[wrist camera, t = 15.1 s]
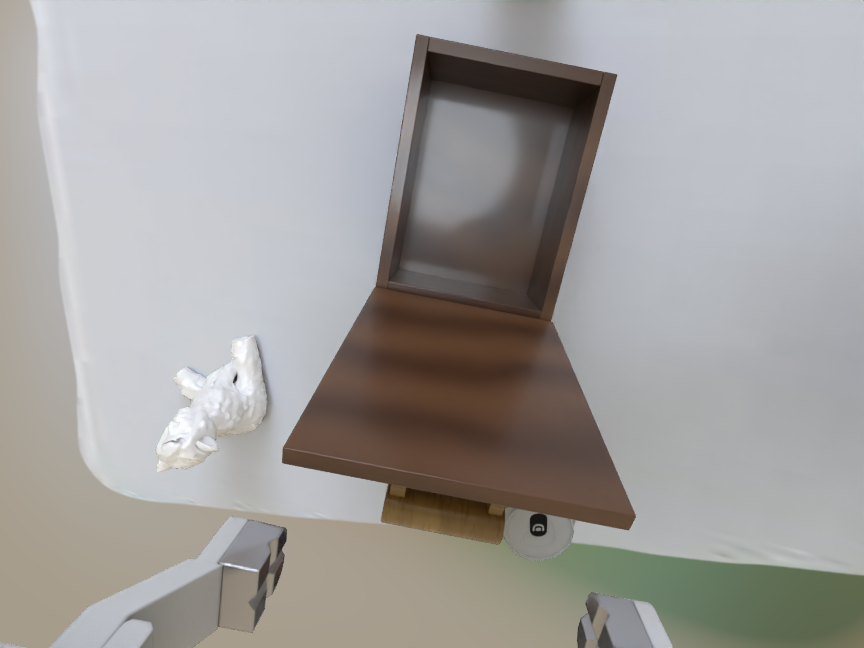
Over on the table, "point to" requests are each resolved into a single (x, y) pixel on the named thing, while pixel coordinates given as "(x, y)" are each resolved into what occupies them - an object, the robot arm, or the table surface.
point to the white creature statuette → (215, 407)
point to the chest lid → (459, 420)
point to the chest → (490, 176)
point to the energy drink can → (536, 533)
